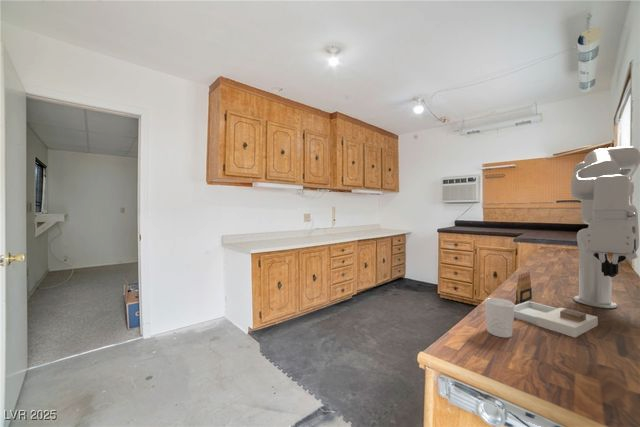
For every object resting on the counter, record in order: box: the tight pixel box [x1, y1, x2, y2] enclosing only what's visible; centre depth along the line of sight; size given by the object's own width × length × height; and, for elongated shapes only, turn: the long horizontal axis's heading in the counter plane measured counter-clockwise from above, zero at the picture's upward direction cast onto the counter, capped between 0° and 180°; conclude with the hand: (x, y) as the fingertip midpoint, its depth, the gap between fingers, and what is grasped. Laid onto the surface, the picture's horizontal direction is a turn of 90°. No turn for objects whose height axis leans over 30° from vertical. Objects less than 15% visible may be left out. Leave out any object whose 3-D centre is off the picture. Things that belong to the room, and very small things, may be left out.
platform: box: [536, 307, 599, 338], centre depth 91 cm, size 18×10×3 cm, turn 119°
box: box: [514, 300, 559, 326], centre depth 100 cm, size 17×10×2 cm, turn 119°
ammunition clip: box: [515, 271, 533, 304], centre depth 117 cm, size 11×2×12 cm, turn 122°
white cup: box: [484, 297, 516, 338], centre depth 86 cm, size 8×8×10 cm
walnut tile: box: [560, 308, 587, 322], centre depth 90 cm, size 5×5×2 cm
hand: (609, 275), depth 82 cm, fingers closed
